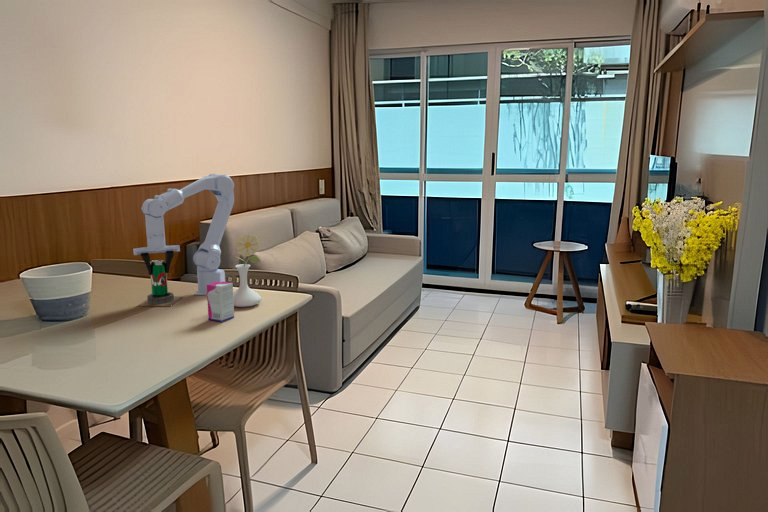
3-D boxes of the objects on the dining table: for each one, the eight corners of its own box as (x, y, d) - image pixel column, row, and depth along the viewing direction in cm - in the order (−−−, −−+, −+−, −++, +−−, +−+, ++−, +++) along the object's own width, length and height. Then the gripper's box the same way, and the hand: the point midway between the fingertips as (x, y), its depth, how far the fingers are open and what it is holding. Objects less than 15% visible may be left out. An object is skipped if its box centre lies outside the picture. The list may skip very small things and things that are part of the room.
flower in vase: (220, 307, 178) (216, 234, 173) (241, 298, 188) (238, 229, 183) (252, 311, 173) (249, 236, 168) (272, 302, 183) (269, 232, 178)
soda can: (170, 293, 185) (168, 259, 183) (164, 296, 180) (162, 262, 178) (155, 293, 185) (153, 259, 183) (149, 296, 180) (147, 262, 178)
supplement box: (235, 317, 167) (233, 282, 165) (222, 322, 162) (220, 286, 160) (220, 314, 170) (219, 280, 167) (207, 320, 164) (205, 284, 162)
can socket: (182, 297, 188) (182, 291, 188) (170, 306, 178) (169, 299, 177) (152, 297, 188) (151, 290, 188) (137, 306, 178) (137, 299, 177)
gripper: (133, 237, 171) (136, 278, 174) (180, 234, 178) (183, 273, 181) (131, 234, 177) (134, 273, 180) (176, 231, 184) (179, 269, 187)
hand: (158, 273), depth 181 cm, fingers closed on soda can, 5 cm apart
